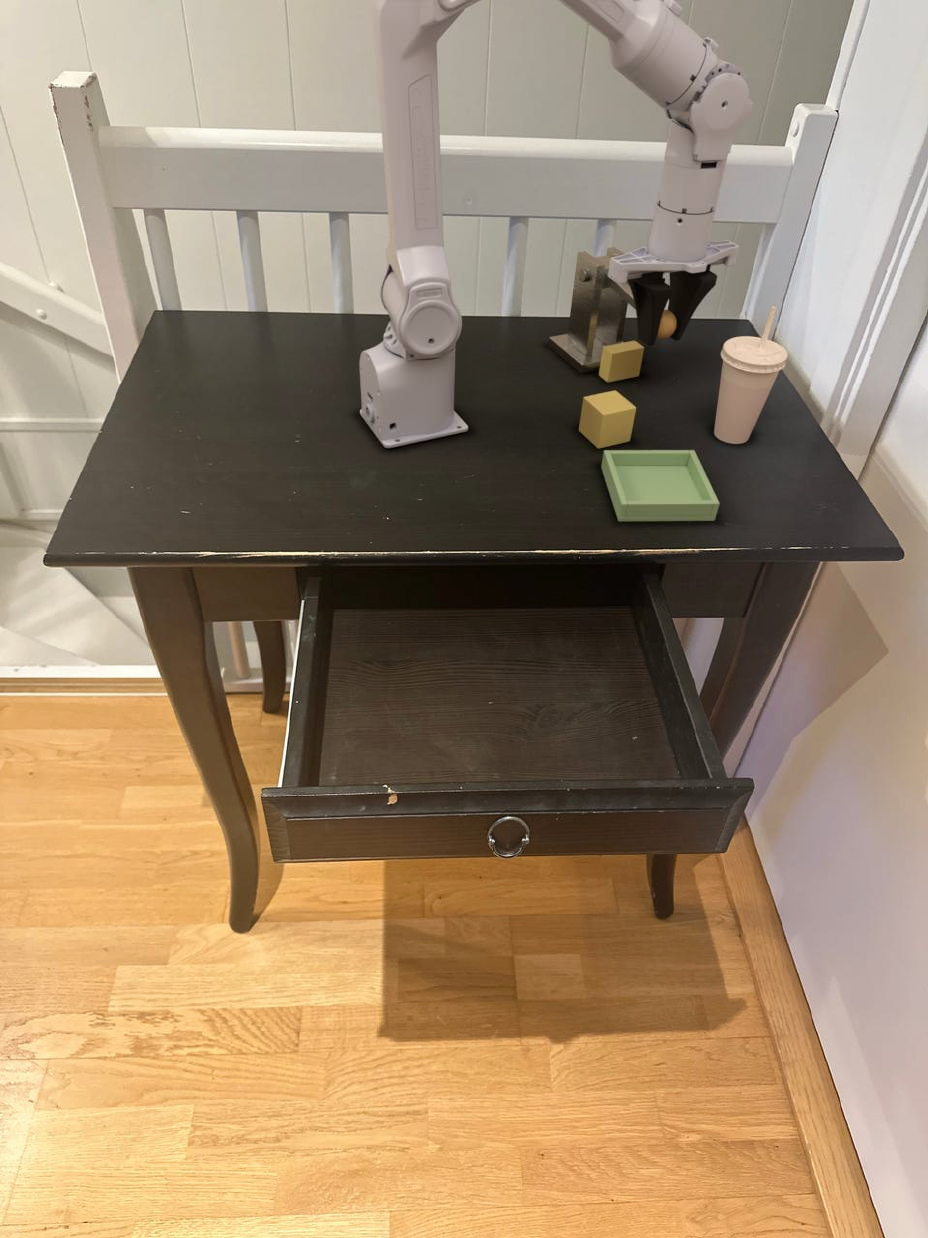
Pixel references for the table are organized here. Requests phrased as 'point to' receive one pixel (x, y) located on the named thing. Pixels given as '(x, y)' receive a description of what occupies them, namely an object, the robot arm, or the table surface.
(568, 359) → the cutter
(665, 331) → the cutter lever
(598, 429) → the yellow cube
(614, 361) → the butter block
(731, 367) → the smoothie
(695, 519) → the dish
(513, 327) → the table surface
